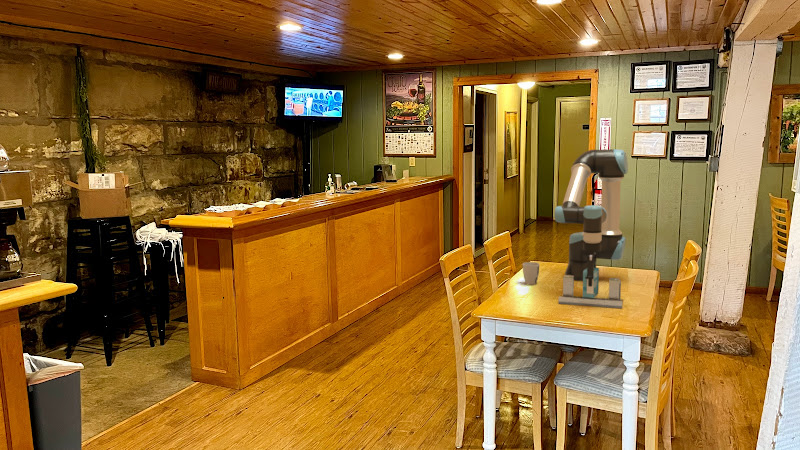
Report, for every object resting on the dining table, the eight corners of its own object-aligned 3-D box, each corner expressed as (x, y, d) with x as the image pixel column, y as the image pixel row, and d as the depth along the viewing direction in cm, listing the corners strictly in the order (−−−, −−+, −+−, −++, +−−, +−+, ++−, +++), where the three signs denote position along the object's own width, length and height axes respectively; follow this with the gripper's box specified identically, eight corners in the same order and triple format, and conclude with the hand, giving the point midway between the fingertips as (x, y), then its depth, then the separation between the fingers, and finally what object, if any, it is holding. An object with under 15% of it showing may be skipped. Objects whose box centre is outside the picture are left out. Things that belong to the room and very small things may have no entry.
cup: (539, 285, 293) (540, 265, 292) (522, 285, 294) (522, 265, 293) (538, 281, 301) (538, 262, 300) (522, 281, 302) (522, 262, 301)
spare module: (610, 297, 270) (611, 279, 268) (620, 298, 268) (621, 280, 267) (610, 300, 265) (611, 282, 264) (620, 301, 264) (620, 282, 262)
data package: (593, 299, 257) (593, 271, 256) (582, 298, 259) (583, 270, 258) (598, 293, 268) (599, 267, 266) (587, 292, 270) (588, 266, 269)
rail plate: (561, 297, 272) (561, 273, 270) (622, 302, 262) (623, 276, 261) (558, 303, 263) (558, 278, 261) (622, 308, 253) (622, 282, 251)
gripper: (585, 235, 273) (584, 281, 276) (580, 246, 250) (579, 296, 253) (602, 236, 270) (601, 282, 273) (599, 247, 247) (598, 297, 251)
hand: (591, 289), depth 263 cm, fingers open, 13 cm apart
